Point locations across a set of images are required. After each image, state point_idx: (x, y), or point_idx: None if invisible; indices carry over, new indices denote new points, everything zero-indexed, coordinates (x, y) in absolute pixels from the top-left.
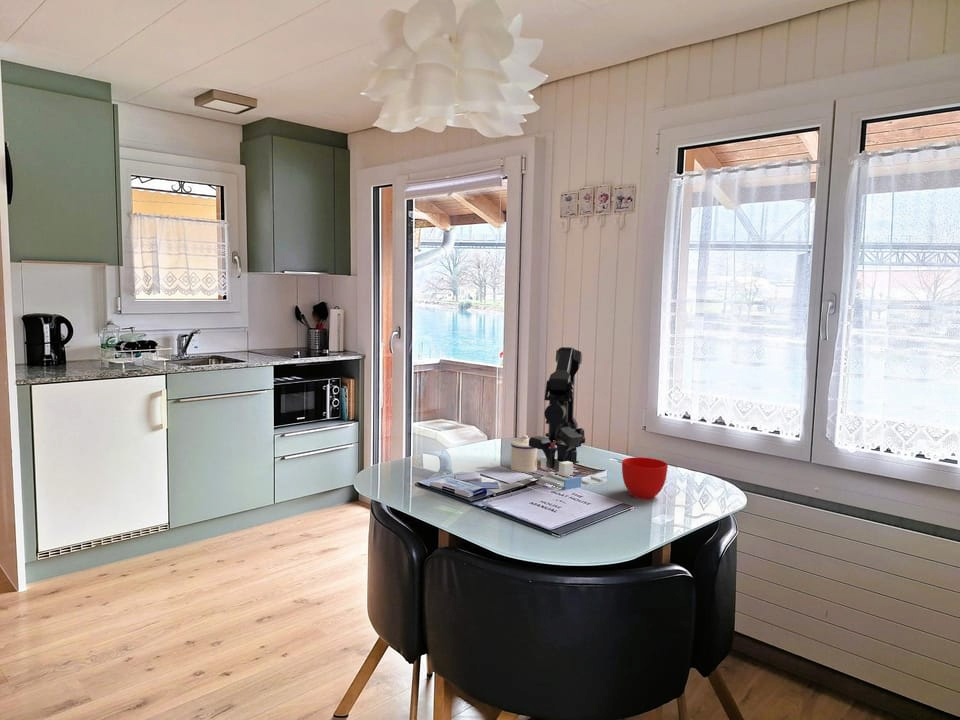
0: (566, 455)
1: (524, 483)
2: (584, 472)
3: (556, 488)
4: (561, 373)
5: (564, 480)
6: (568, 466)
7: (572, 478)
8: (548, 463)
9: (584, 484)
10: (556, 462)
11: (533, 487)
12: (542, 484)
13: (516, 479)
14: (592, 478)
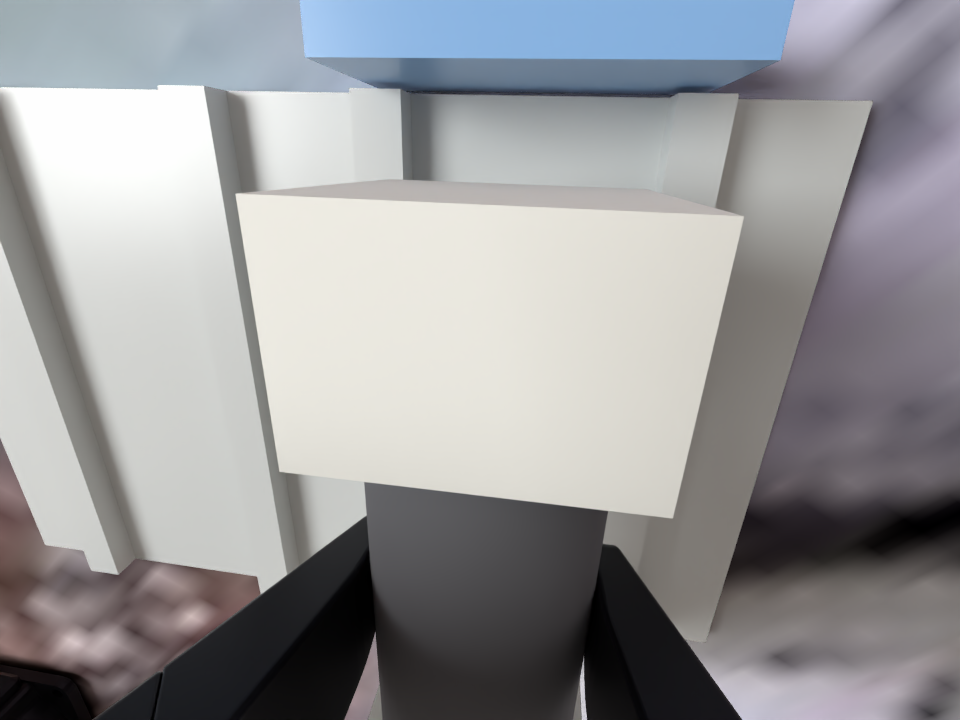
0: (118, 712)
1: (809, 590)
2: (9, 488)
3: (767, 189)
4: None
5: (771, 49)
6: (506, 201)
7: (555, 7)
8: (572, 711)
9: (257, 112)
10: (558, 617)
11: (888, 444)
12: (741, 436)
13: (740, 699)
14: (27, 252)
